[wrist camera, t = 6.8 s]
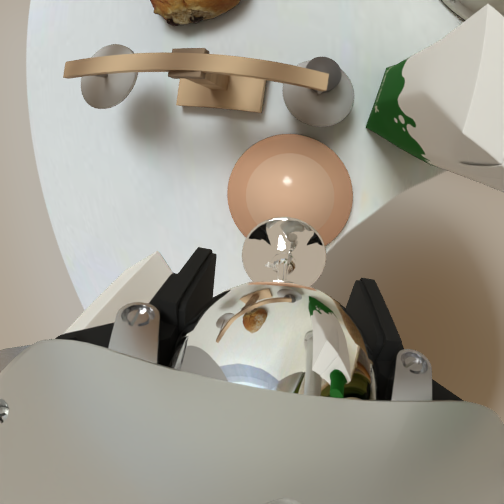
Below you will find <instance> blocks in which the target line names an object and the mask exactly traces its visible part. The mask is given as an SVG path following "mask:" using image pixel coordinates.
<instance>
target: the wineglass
mask: <svg viewBox="0 0 504 504" xmlns="http://www.w3.org/2000/svg"><path fill="white" fill-rule="evenodd" d="M242 262H243V266H244V269H245V271H246V273H247V274H248V276H249V277H250V279H251V280H252V281H253V282H248V283H244V284H241V285H239V286H236V287H233V288H230V289H227V290H226V291H224V292H222V293H220V294H219V295H217V296H215V297H213V298H212V299H211V300H209V301H208V302H207V303H206V304H204V305H203V306H202V307H201V308H200V309H199V310H198V311H197V312H196V313H195V314H194V315H193V317H192V318H191V319H190V320H189V321H188V322H187V324H186V325H185V326H184V328H183V329H182V331H181V332H180V334H179V335H178V337H177V339H176V341H175V343H174V345H173V347H172V349H171V351H170V353H169V355H168V358H167V361H166V364H165V366H167V367H170V368H174V369H177V370H181V371H185V372H189V373H193V374H197V375H201V376H205V377H209V378H214V379H218V380H223V381H227V382H232V383H237V384H242V385H247V386H252V387H258V388H263V389H269V390H275V391H282V392H288V393H296V394H304V395H313V396H323V397H334V398H347V399H362V400H380V395H379V381H378V375H377V371H376V367H375V363H374V358H373V354H372V351H371V348H370V346H369V344H368V342H367V340H366V338H365V336H364V334H363V332H362V330H361V328H360V326H359V324H358V323H357V322H356V320H355V319H354V318H353V316H352V315H351V314H350V312H349V311H348V310H347V309H346V308H344V307H343V306H342V305H341V304H340V303H339V302H338V301H336V300H335V299H333V298H332V297H331V296H329V295H328V294H326V293H324V292H322V291H319V290H317V289H315V288H313V287H310V286H312V285H313V284H314V283H315V282H316V281H317V280H318V279H319V277H320V276H321V274H322V272H323V270H324V267H325V263H326V249H325V245H324V242H323V240H322V238H321V236H320V235H319V233H318V232H317V231H316V230H315V229H314V228H313V227H312V226H311V225H309V224H308V223H306V222H304V221H301V220H299V219H296V218H291V217H275V218H272V219H268V220H265V221H264V222H262V223H260V224H258V225H257V226H256V227H255V228H254V229H253V230H251V232H250V233H249V235H248V236H247V237H246V239H245V242H244V245H243V249H242Z"/></svg>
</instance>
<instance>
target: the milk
mask: <svg viewBox="0 0 504 504" xmlns="http://www.w3.org/2000/svg"><path fill="white" fill-rule="evenodd" d="M172 273H173V272H172V271H171V269H170V268H169V266H168V265H167V263H166V262H165V260H164V259H163V257H162V256H161V254H160V253H159V252H158V251H156V252H155V253H153V254H151V255H150V256H148V257H146V258H145V259H143V260H141V261H140V262H138V263H136V264H135V265H133V266H131V267H130V268H128V269H126V270H125V271H124V272H123V273H122V274H121V275H120V276H119V277H118V278H117V279H116V280H115V281H114V282H113V283H112V284H111V285H110V286H109V287H108V288H107V289H106V290H105V291H104V292H103V293H102V294H101V295H100V296H99V297H98V298H97V299H96V300H95V301H94V302H93V303H92V304H91V305H90V306H89V307H88V308H87V309H86V310H85V311H84V312H83V313H82V314H81V315H80V316H79V317H78V318H77V319H76V320H75V321H74V323H73V324H72V325H71V326H70V327H69V328H68V329H67V330H66V331H65V332H64V333H63V334H65V333H69V332H74V331H79V330H83V329H88V328H92V327H96V326H101V325H105V324H109V323H114V322H115V319H116V315H117V312H118V311H119V309H120V308H121V307H123V306H125V305H127V304H129V303H133V302H143V303H149V302H150V301H151V299H152V298H153V297H154V295H155V294H156V293H157V292H158V290H159V289H160V288H161V286H162V285H163V284H164V283H165V281H166V280H167V279H168V277H169V276H170V275H171V274H172Z"/></svg>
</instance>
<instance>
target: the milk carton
mask: <svg viewBox="0 0 504 504" xmlns="http://www.w3.org/2000/svg"><path fill="white" fill-rule="evenodd" d="M366 128H368V129H370V130H371V131H373V132H375V133H377V134H378V135H380V136H381V137H383V138H385V139H386V140H388V141H389V142H391V143H393V144H394V145H396V146H397V147H399V148H401V149H402V150H404V151H406V152H408V153H410V154H411V155H413V156H415V157H417V158H419V159H420V160H422V161H424V162H426V163H428V164H430V165H433V166H436V167H439V168H442V169H445V170H447V171H450V172H453V173H456V174H458V175H461V176H464V177H467V178H469V179H472V180H474V181H477V182H479V183H482V184H484V185H487V186H489V187H491V188H494V189H497V190H499V191H502V192H504V17H503V16H502V15H501V14H500V13H499V12H498V11H497V10H495V9H494V8H493V7H492V6H491V5H489V4H487V5H485V6H484V7H483V8H481V9H480V10H479V11H478V12H476V13H475V14H474V15H472V16H471V17H470V18H468V19H467V20H466V21H464V22H463V23H462V24H461V25H459V26H458V27H457V28H455V29H454V30H453V31H451V32H450V33H449V34H448V35H446V36H445V37H444V38H442V39H441V40H439V41H438V42H436V43H434V44H433V45H431V46H429V47H427V48H425V49H423V50H422V51H420V52H418V53H416V54H414V55H413V56H411V57H409V58H407V59H405V60H404V61H402V62H400V63H398V64H397V65H394V66H391V67H388V68H386V71H385V74H384V77H383V80H382V82H381V85H380V88H379V91H378V94H377V97H376V100H375V103H374V105H373V108H372V111H371V114H370V117H369V119H368V122H367V125H366Z"/></svg>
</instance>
